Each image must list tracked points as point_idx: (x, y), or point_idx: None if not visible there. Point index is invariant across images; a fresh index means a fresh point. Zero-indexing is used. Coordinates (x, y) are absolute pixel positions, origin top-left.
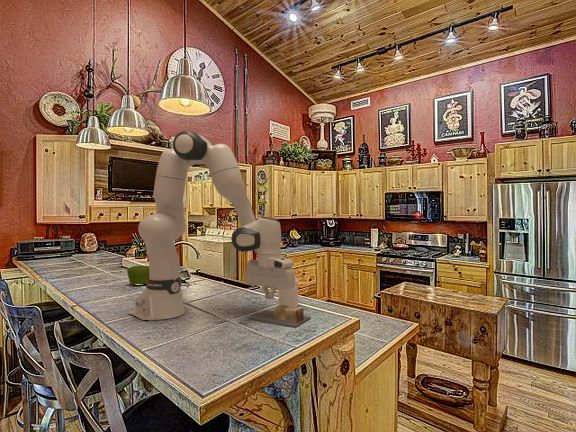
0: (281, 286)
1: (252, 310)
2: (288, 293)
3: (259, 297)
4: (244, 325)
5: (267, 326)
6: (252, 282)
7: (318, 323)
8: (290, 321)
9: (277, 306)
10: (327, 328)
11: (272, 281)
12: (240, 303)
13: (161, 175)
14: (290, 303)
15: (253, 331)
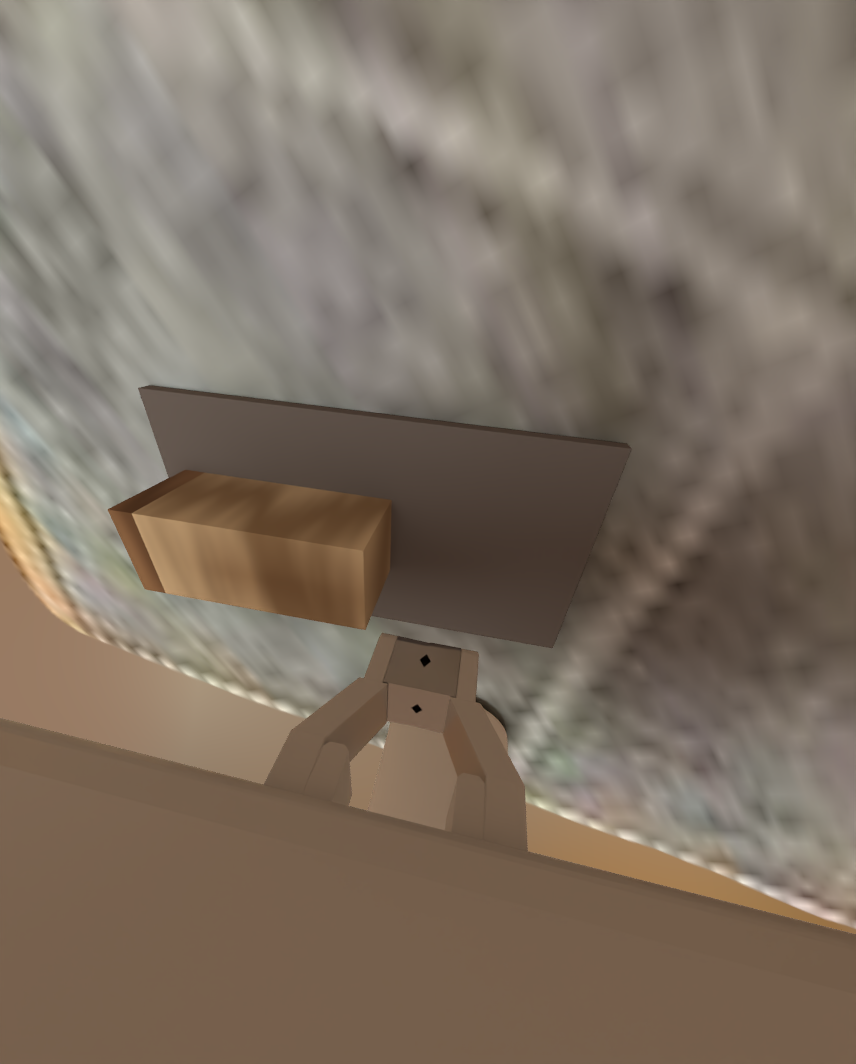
0: (15, 771)
1: (663, 642)
2: (400, 799)
3: (695, 827)
4: (593, 233)
5: (352, 322)
6: (847, 1003)
7: None
8: (244, 476)
9: (350, 584)
10: (20, 459)
11: (151, 957)
12: (818, 748)
13: None
14: (405, 725)
15: (388, 56)
